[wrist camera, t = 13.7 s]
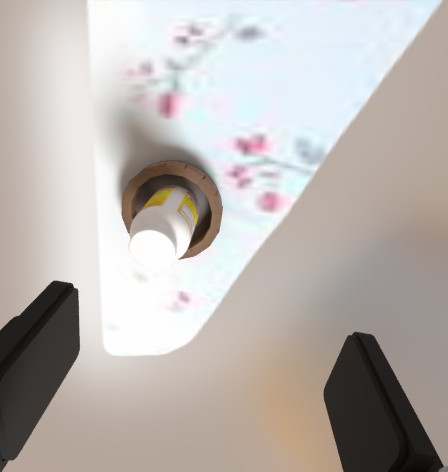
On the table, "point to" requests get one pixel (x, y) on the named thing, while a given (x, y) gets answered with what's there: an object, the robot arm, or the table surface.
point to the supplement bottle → (163, 228)
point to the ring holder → (184, 177)
